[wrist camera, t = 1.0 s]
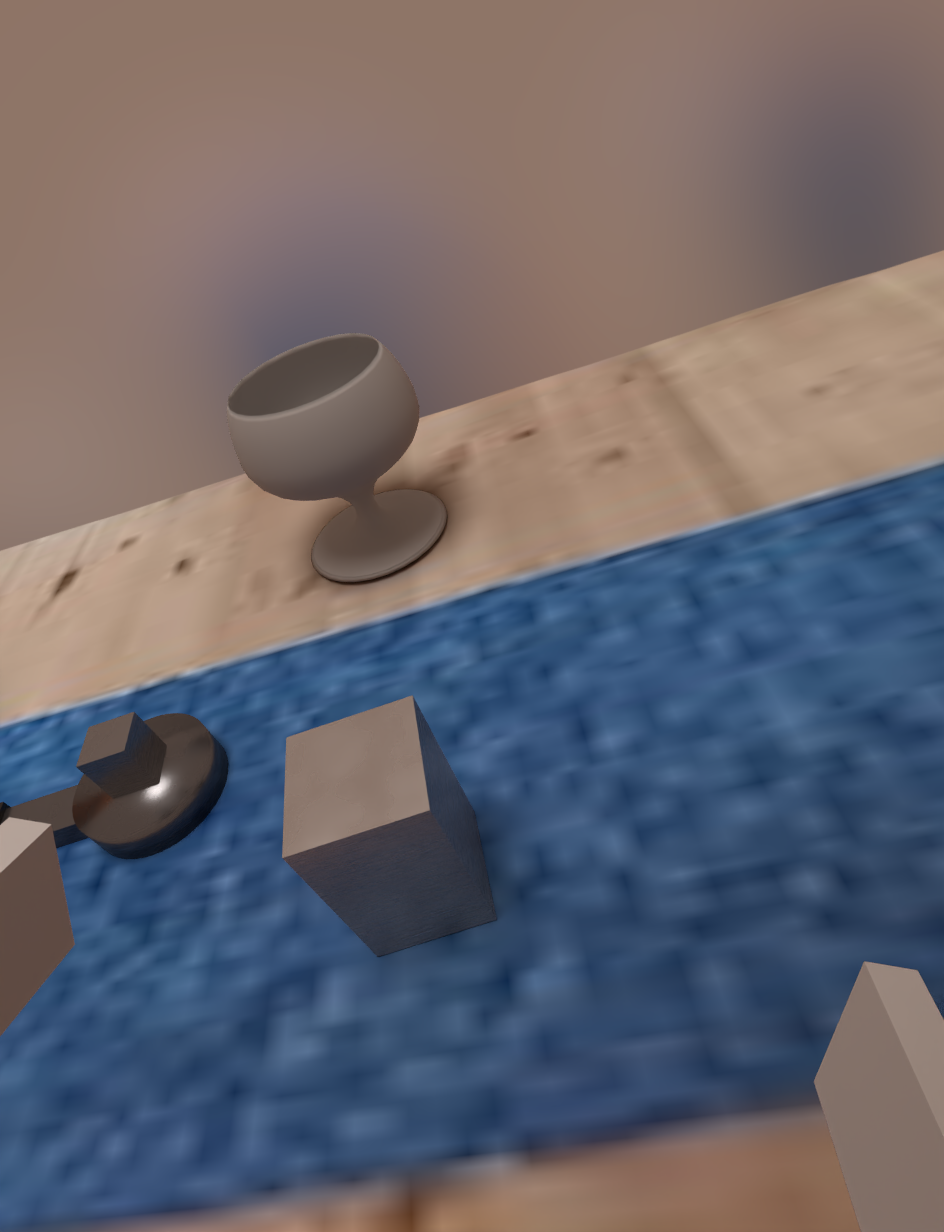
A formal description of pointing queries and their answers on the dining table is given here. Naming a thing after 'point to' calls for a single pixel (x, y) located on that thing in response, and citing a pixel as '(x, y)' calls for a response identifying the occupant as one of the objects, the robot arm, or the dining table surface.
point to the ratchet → (135, 786)
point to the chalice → (338, 449)
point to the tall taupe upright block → (384, 829)
